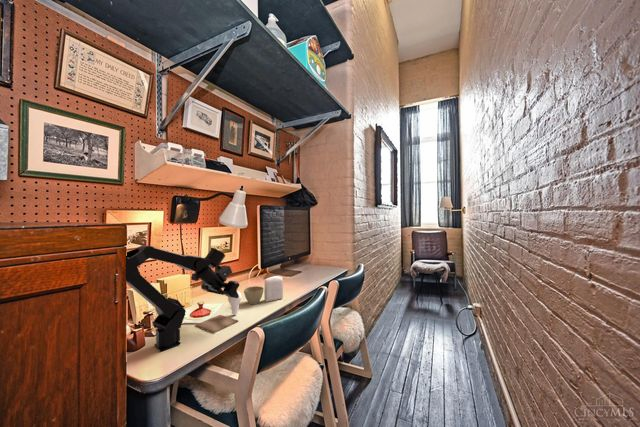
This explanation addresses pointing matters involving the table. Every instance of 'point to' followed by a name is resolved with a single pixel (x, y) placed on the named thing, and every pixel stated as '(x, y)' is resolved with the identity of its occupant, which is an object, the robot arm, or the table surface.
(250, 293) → the flower pot
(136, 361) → the table surface
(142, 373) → the table surface
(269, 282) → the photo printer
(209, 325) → the coaster
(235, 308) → the lightbulb
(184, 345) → the table surface
